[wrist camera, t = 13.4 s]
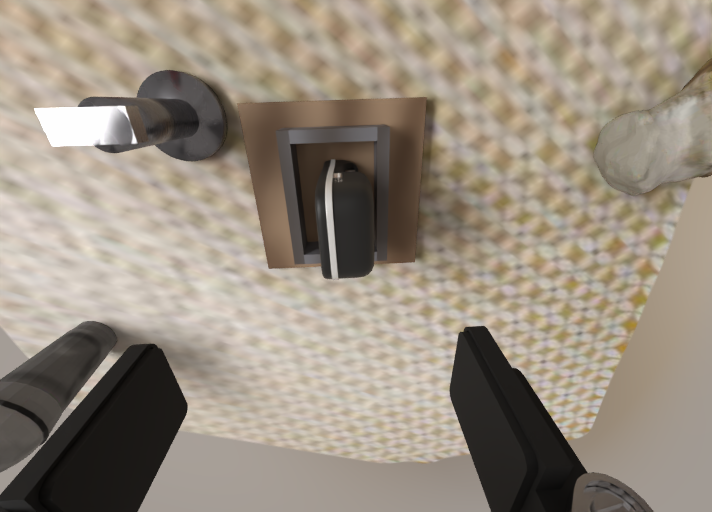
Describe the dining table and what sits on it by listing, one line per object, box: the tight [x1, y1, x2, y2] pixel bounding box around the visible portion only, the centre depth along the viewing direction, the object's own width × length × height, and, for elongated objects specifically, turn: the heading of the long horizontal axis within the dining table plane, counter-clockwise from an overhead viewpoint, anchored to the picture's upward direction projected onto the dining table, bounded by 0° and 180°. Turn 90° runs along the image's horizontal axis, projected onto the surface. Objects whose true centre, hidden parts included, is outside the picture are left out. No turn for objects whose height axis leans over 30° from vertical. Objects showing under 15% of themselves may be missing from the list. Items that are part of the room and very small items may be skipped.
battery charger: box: [315, 159, 374, 280], centre depth 24 cm, size 7×4×11 cm, turn 2°
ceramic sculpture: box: [594, 58, 712, 196], centre depth 25 cm, size 11×9×15 cm
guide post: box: [35, 70, 227, 161], centre depth 22 cm, size 7×7×10 cm
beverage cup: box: [0, 321, 117, 472], centre depth 28 cm, size 7×7×20 cm
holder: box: [237, 97, 427, 269], centre depth 28 cm, size 16×16×4 cm
